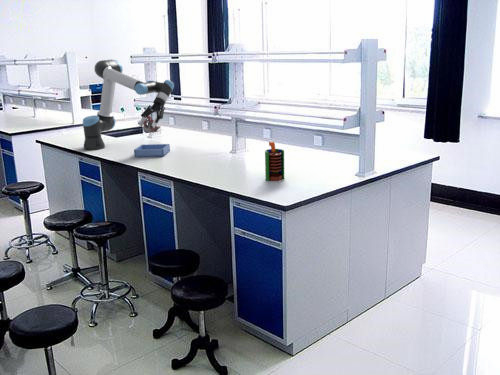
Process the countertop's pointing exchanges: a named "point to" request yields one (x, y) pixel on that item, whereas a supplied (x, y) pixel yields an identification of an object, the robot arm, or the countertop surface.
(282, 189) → the countertop surface
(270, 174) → the motor
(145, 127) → the brake caliper
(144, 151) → the parts bin
